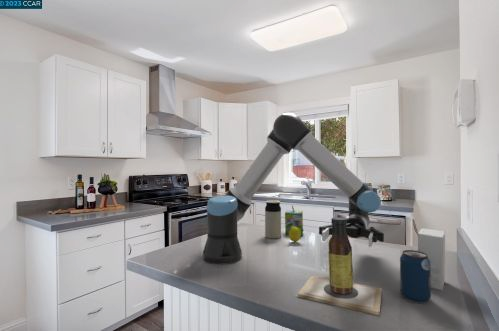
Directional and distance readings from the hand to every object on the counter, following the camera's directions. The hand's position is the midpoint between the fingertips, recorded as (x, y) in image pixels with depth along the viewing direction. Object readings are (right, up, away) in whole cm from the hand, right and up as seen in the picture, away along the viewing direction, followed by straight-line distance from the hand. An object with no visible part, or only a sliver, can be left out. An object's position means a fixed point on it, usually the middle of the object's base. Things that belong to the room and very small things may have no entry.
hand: (345, 239), depth 83 cm
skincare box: (+26, -13, -1) cm, 29 cm away
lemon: (-8, -14, +43) cm, 46 cm away
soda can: (+15, -13, -10) cm, 22 cm away
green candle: (-6, -14, +61) cm, 63 cm away
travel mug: (-17, -14, +54) cm, 58 cm away
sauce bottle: (-4, -12, -8) cm, 15 cm away
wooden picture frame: (-4, -13, -8) cm, 16 cm away
